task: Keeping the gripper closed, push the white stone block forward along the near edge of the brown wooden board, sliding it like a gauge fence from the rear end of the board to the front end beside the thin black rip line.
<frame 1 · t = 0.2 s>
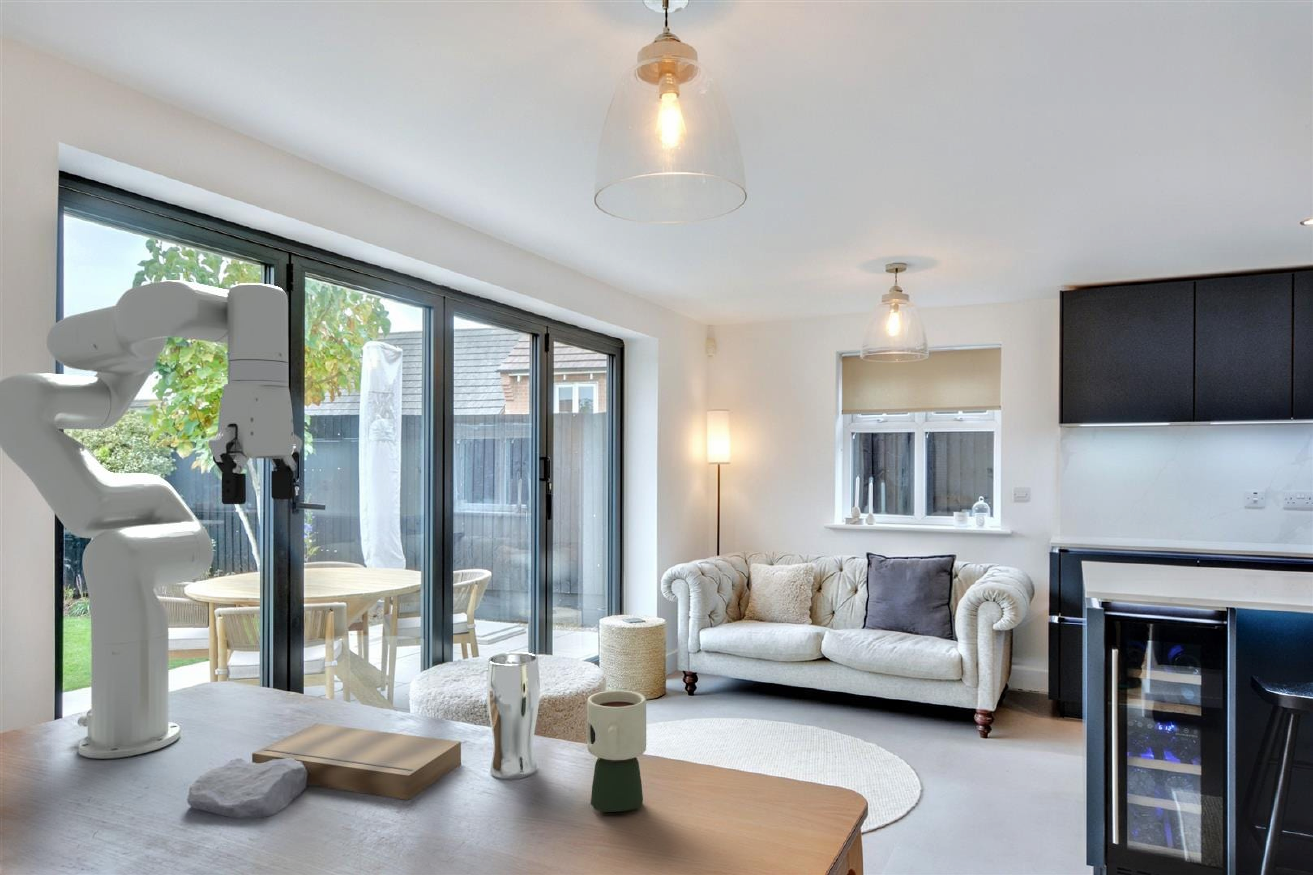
hand: (259, 501, 113), 36 cm above the table, tool pointing down, fingers open, 9 cm apart
beer glass: (513, 772, 110), on the table
stone block: (244, 805, 101), on the table
brown wooden board: (358, 769, 111), on the table
character mug: (616, 808, 99), on the table
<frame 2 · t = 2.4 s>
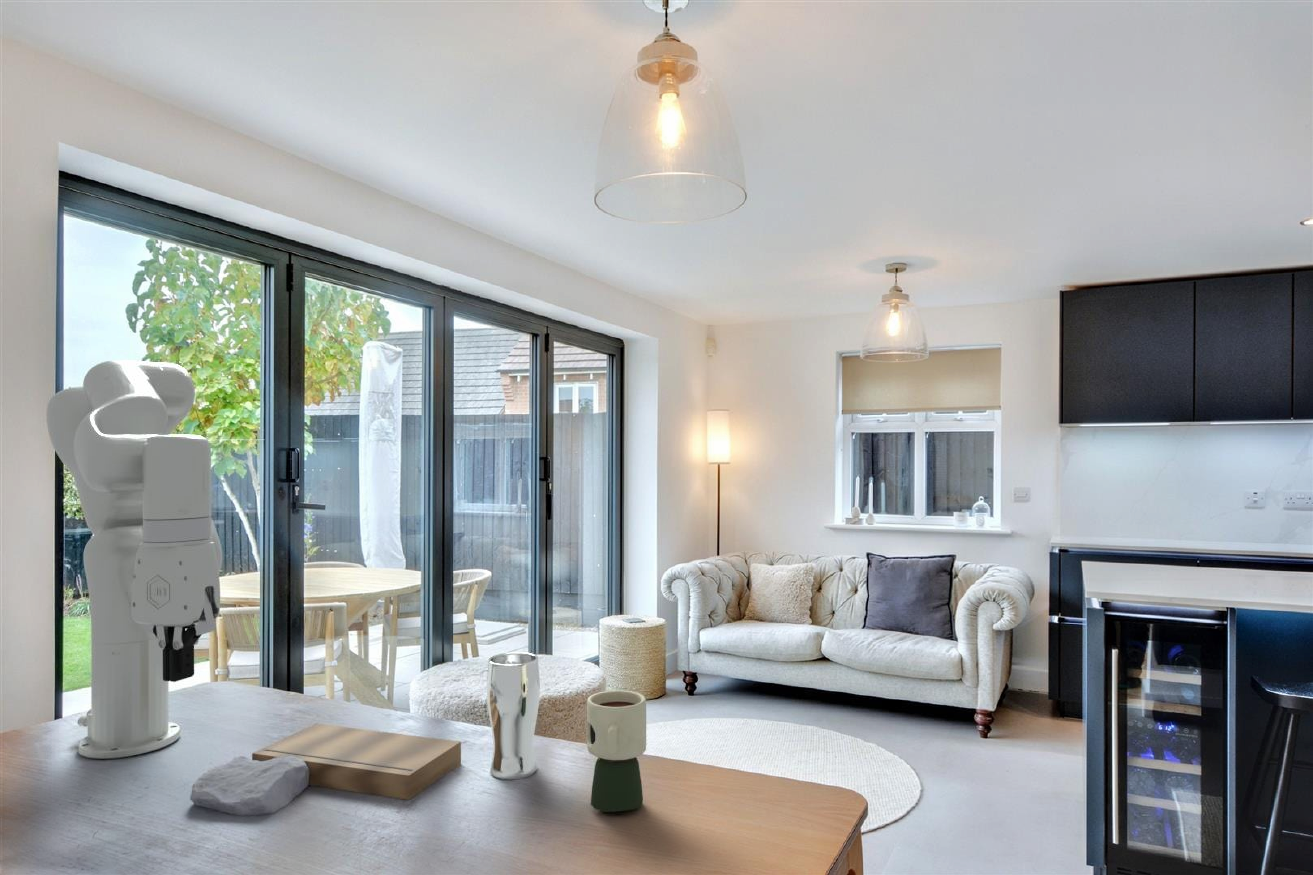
hand: (178, 678, 104), 14 cm above the table, tool pointing down, fingers closed
nothing on the table moved.
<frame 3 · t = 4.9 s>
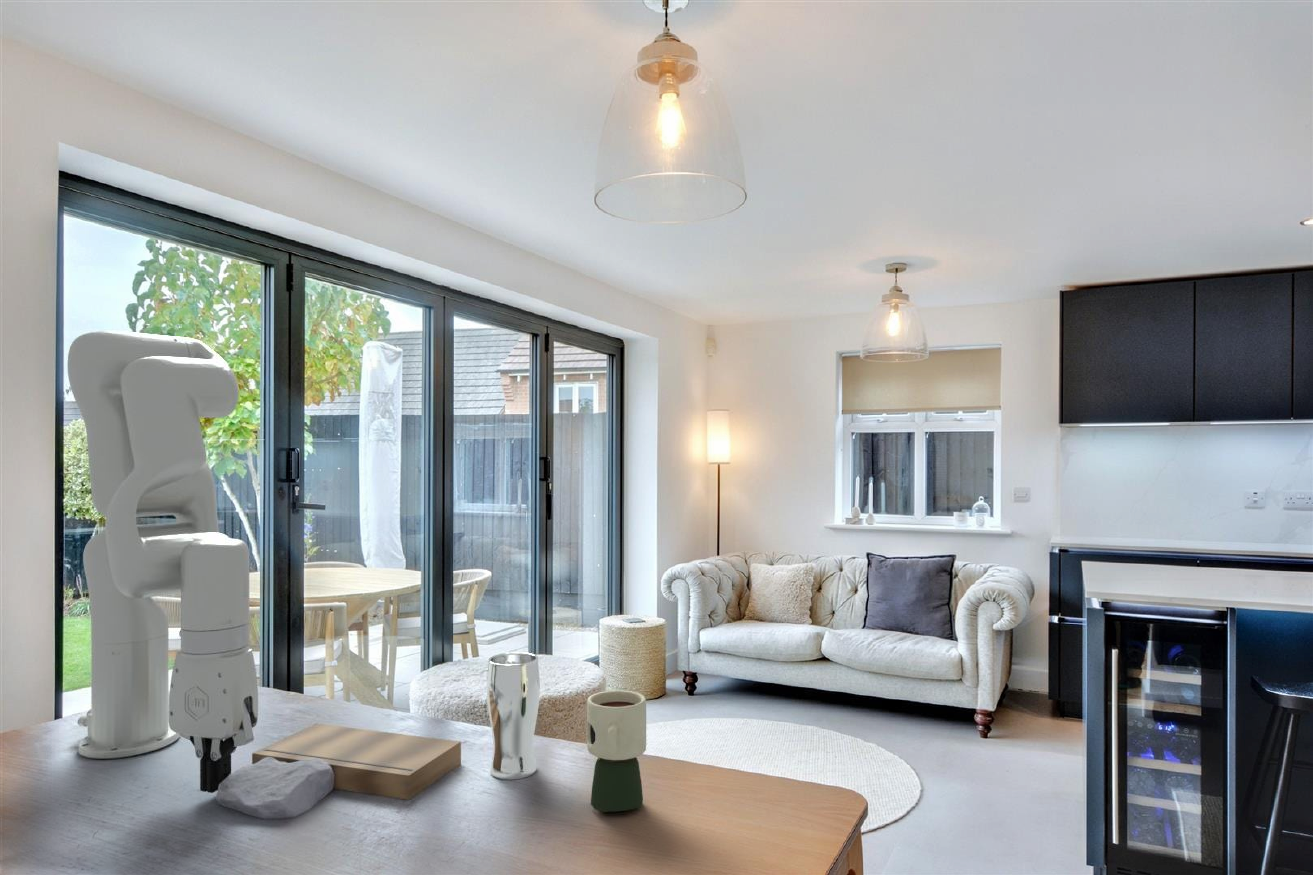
hand: (215, 787, 102), 1 cm above the table, tool pointing down, fingers closed
stone block: (272, 804, 101), on the table
everything else where it was.
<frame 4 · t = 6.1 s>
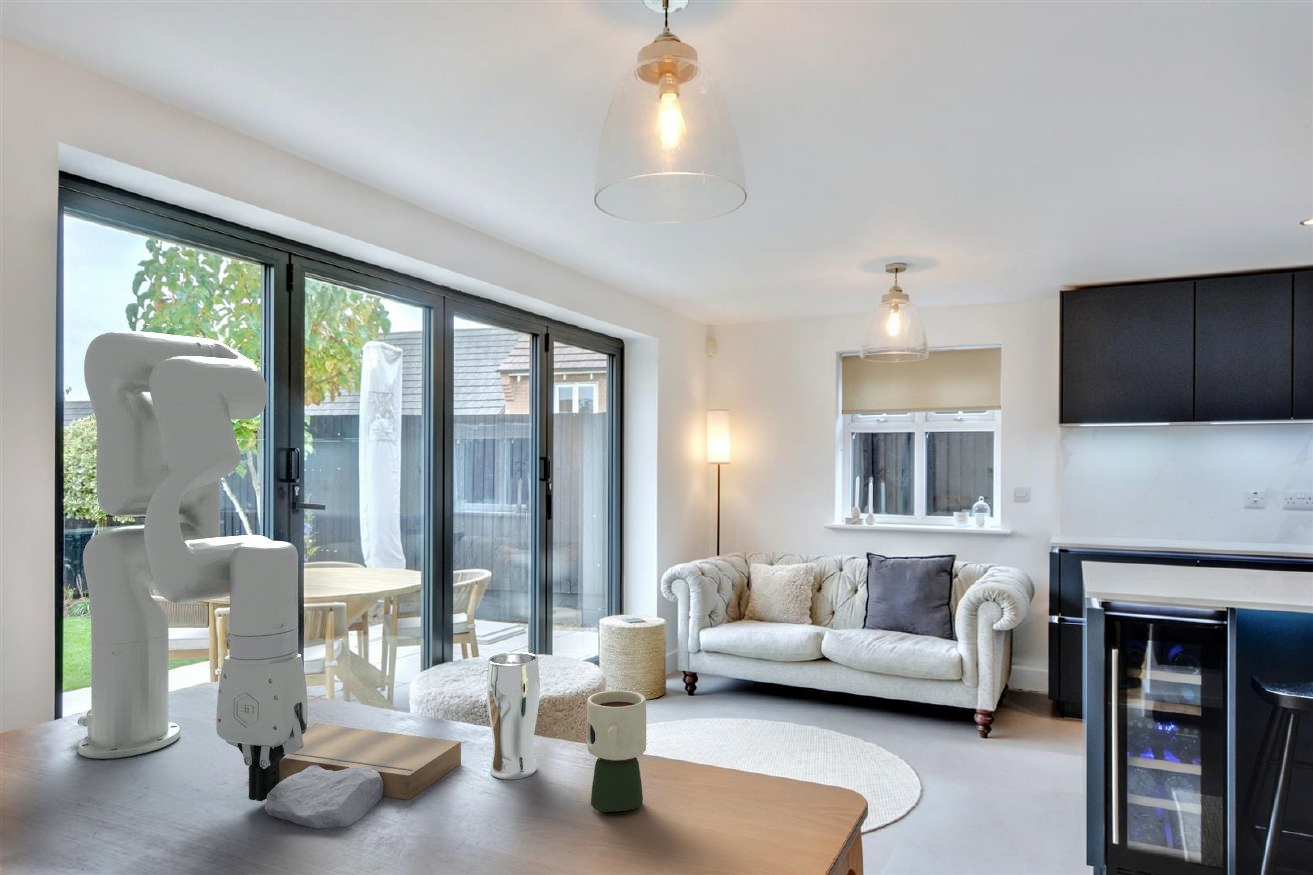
hand: (264, 795, 100), 1 cm above the table, tool pointing down, fingers closed
stone block: (321, 814, 99), on the table
everything else where it was.
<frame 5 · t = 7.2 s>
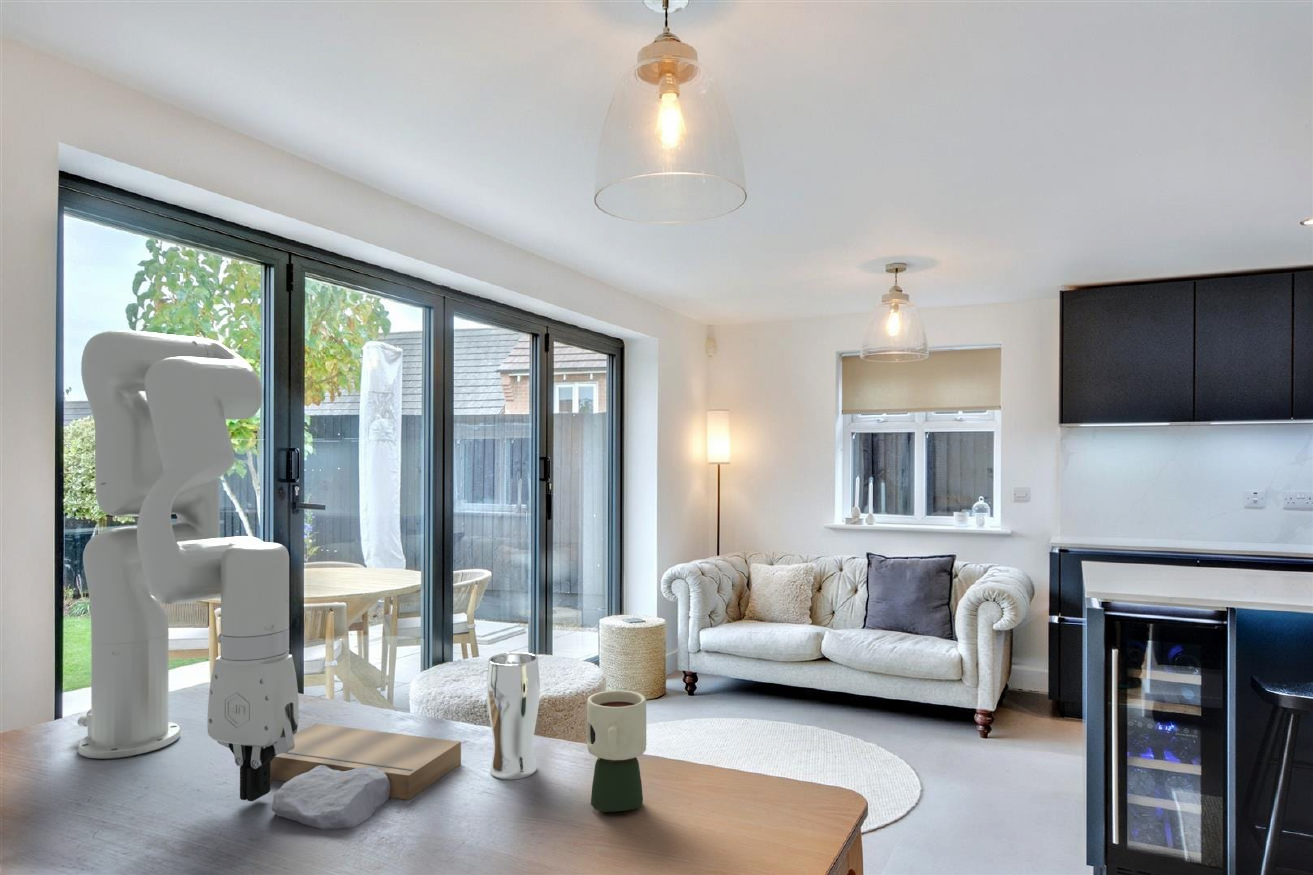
hand: (255, 795, 101), 1 cm above the table, tool pointing down, fingers closed
nothing on the table moved.
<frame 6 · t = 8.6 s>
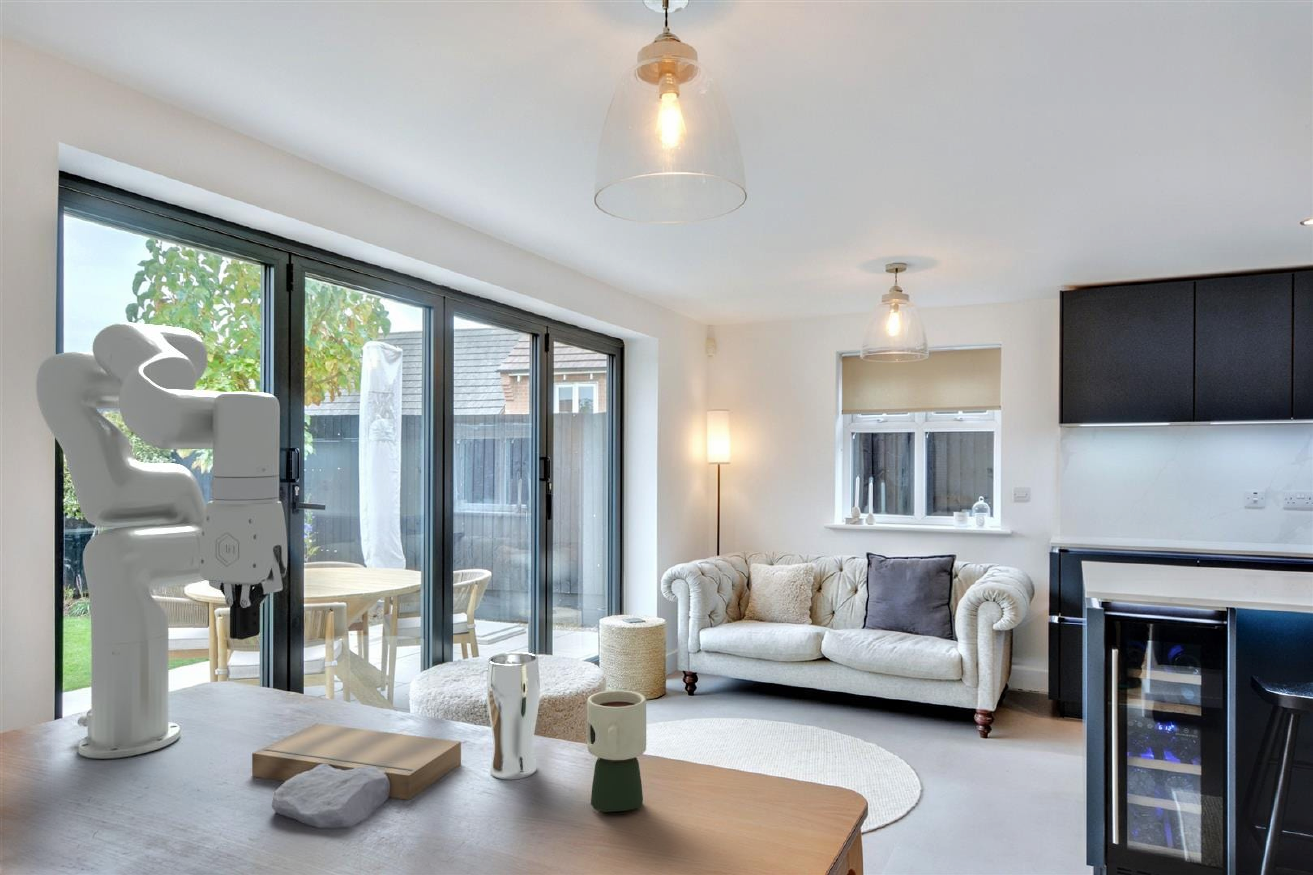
hand: (244, 636, 104), 20 cm above the table, tool pointing down, fingers closed
stone block: (327, 813, 99), on the table, touching brown wooden board
everything else where it was.
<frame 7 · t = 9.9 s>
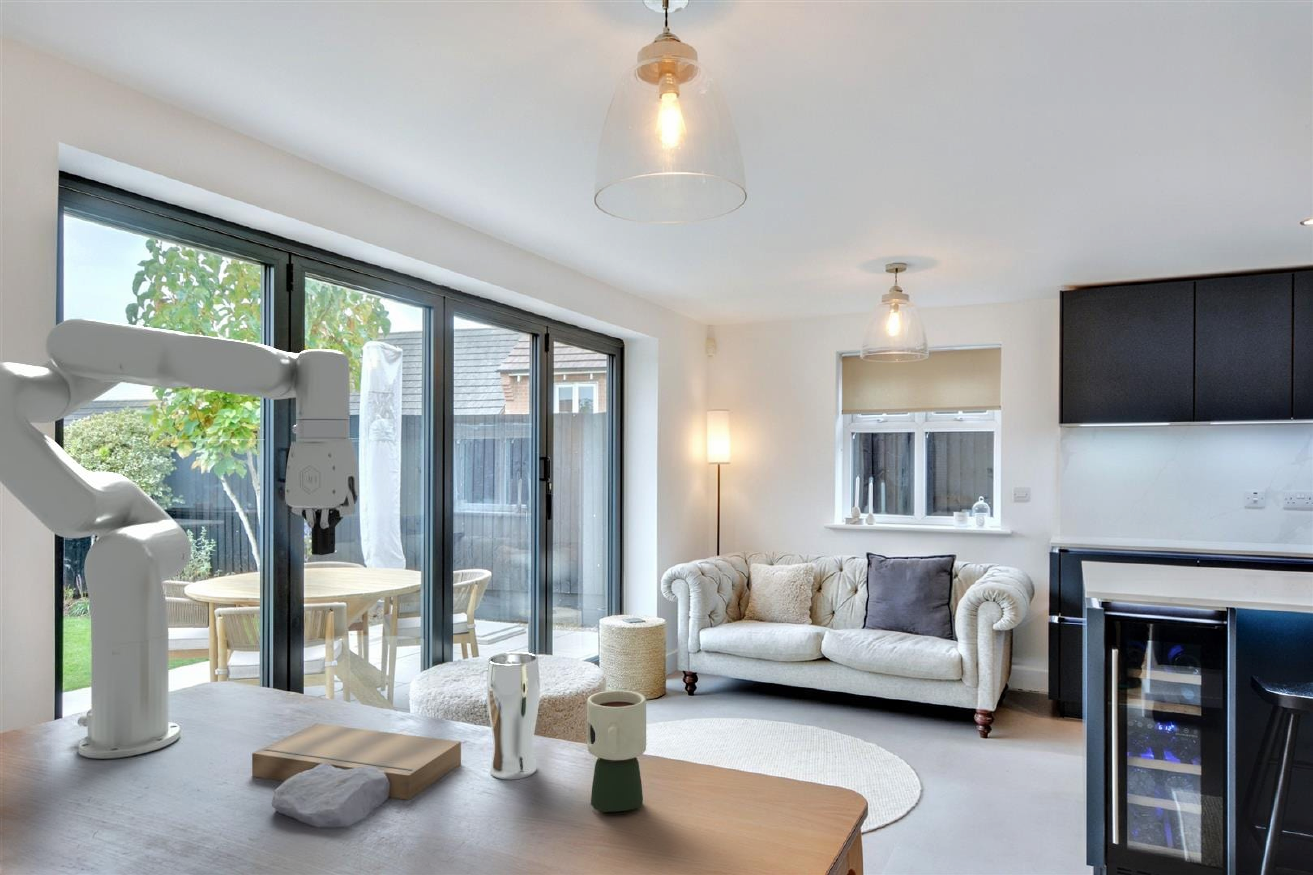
hand: (323, 553, 125), 27 cm above the table, tool pointing down, fingers closed
stone block: (327, 812, 99), on the table
everything else where it was.
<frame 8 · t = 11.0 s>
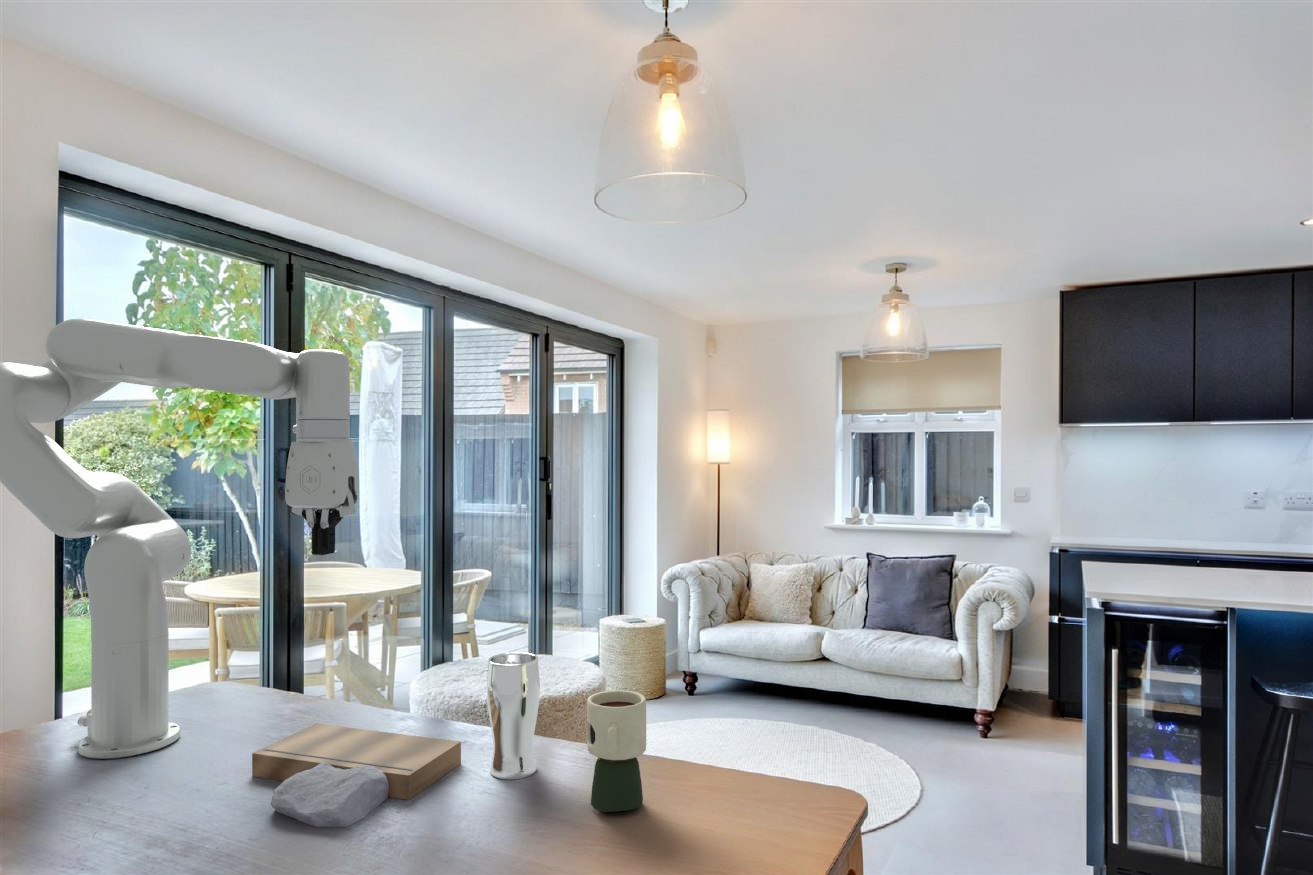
hand: (323, 553, 125), 27 cm above the table, tool pointing down, fingers closed
stone block: (326, 812, 99), on the table, touching brown wooden board
everything else where it was.
at the end: stone block moved 11.0 cm from its start; stone block inside the target area (2.3 cm from its centre), on the table; stone block tilted 0° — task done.
